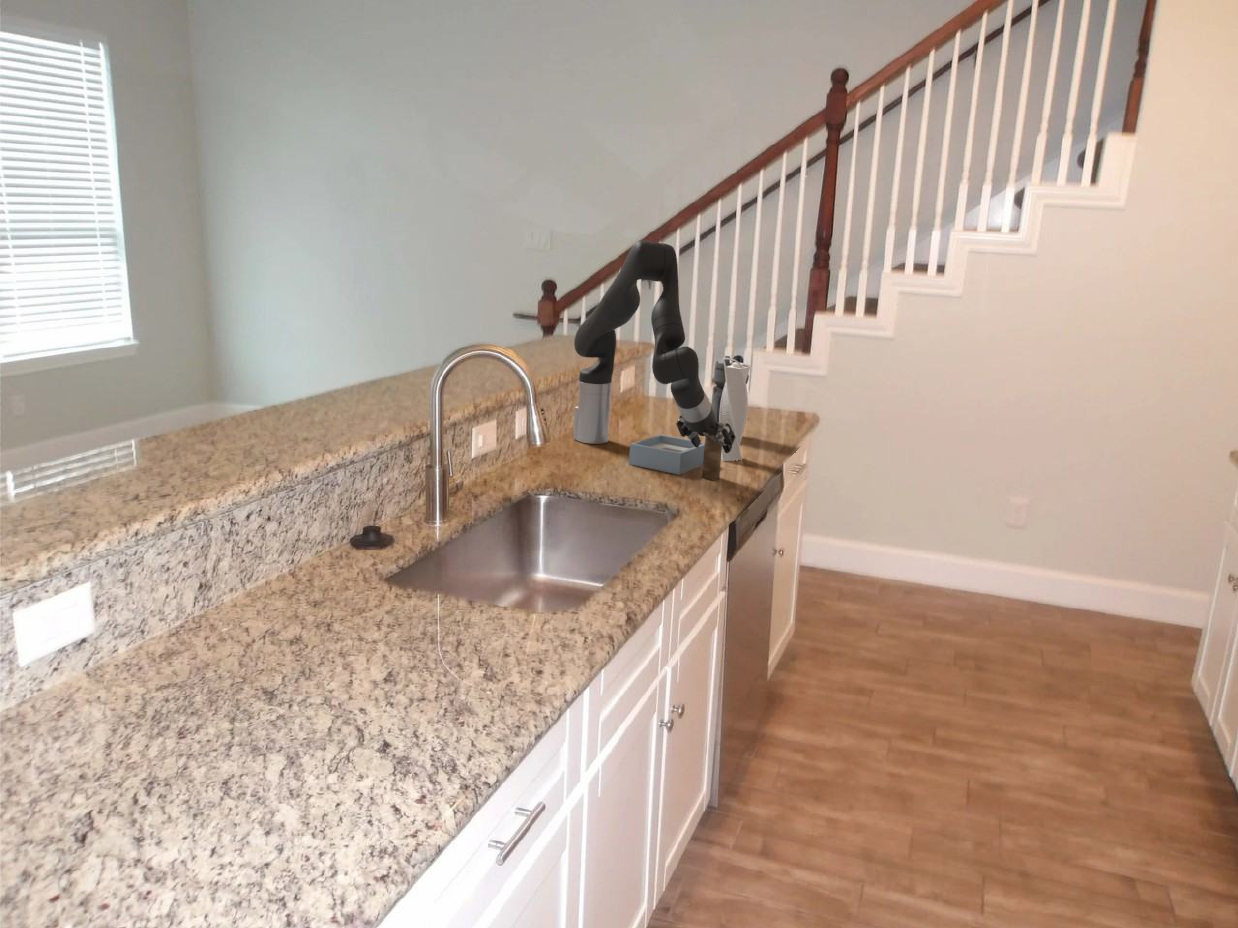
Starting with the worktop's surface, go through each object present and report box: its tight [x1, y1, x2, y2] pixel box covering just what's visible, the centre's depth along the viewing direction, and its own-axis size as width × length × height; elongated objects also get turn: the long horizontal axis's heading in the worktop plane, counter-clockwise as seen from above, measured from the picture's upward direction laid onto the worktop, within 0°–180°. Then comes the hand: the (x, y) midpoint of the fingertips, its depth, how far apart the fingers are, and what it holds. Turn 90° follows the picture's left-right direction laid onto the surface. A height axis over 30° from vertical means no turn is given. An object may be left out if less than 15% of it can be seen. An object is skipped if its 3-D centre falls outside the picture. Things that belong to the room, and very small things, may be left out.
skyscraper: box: [719, 357, 751, 462], centre depth 264 cm, size 8×8×28 cm
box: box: [628, 434, 705, 476], centre depth 258 cm, size 15×16×6 cm
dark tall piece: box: [711, 354, 750, 423], centre depth 293 cm, size 10×13×25 cm
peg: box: [701, 422, 724, 481], centre depth 245 cm, size 4×4×14 cm
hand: (713, 447), depth 245 cm, fingers open, 8 cm apart
